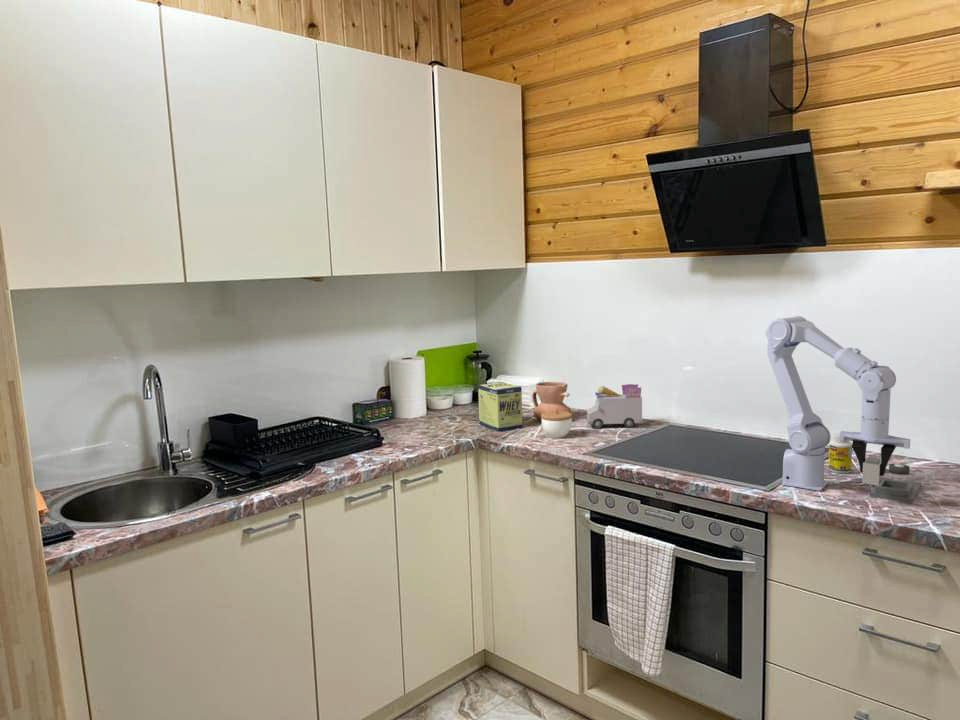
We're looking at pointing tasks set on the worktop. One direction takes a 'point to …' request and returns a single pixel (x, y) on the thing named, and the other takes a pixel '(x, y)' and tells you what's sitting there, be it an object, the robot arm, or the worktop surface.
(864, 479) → the grey rectangular block
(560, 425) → the lidded jar
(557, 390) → the ceramic jug
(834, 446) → the supplement bottle
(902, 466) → the wheel
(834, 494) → the worktop surface
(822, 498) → the worktop surface
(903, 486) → the chassis
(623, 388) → the toy vehicle
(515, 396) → the protein box
